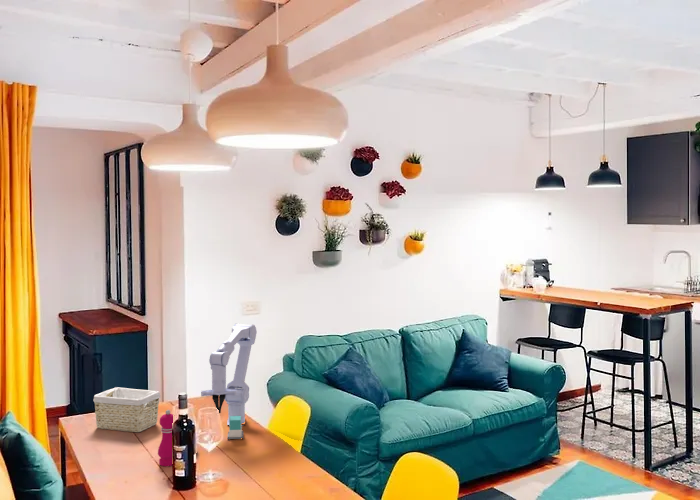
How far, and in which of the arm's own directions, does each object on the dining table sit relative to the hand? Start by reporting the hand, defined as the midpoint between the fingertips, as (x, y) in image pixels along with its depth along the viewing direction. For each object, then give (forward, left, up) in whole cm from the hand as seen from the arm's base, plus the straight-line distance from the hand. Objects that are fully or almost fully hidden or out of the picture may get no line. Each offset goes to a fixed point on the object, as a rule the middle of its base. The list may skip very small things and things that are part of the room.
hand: (218, 412), depth 276 cm
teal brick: (+4, +7, -5) cm, 10 cm away
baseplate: (+4, +7, -9) cm, 12 cm away
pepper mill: (+31, -17, -10) cm, 37 cm away
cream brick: (+4, +7, -9) cm, 12 cm away
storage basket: (-16, -40, -10) cm, 44 cm away
